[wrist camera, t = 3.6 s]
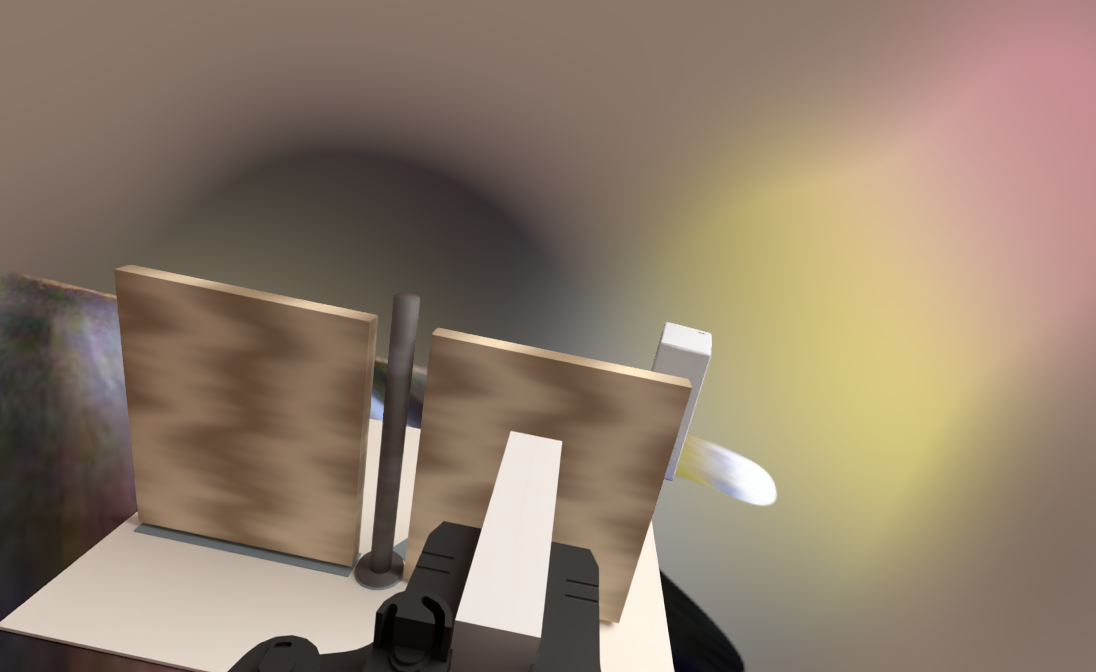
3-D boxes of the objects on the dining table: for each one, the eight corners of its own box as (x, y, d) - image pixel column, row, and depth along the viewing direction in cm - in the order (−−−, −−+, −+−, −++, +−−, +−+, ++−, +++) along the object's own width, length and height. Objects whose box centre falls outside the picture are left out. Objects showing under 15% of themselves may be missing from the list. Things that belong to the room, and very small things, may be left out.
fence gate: (402, 577, 31) (431, 334, 26) (408, 564, 32) (437, 327, 26) (618, 623, 31) (692, 387, 25) (618, 609, 31) (688, 379, 26)
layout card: (-4, 628, 25) (-5, 624, 24) (276, 401, 46) (276, 398, 46) (688, 777, 24) (690, 773, 24) (644, 477, 46) (645, 475, 46)
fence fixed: (128, 539, 30) (96, 243, 25) (162, 510, 33) (141, 234, 27) (393, 595, 30) (425, 310, 24) (408, 562, 33) (441, 295, 27)
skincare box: (633, 435, 52) (665, 320, 48) (677, 449, 51) (713, 332, 47) (624, 467, 47) (659, 340, 42) (672, 483, 46) (713, 355, 42)
